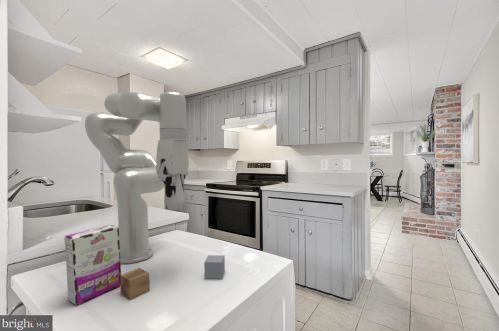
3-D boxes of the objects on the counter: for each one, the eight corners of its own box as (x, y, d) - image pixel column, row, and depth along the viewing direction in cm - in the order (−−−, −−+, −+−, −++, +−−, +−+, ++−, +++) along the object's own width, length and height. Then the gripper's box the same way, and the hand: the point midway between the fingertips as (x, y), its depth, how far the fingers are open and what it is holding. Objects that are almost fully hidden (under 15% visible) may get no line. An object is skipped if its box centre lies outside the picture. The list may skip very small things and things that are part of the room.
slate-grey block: (204, 279, 69) (204, 262, 69) (208, 271, 74) (208, 255, 74) (222, 279, 68) (221, 262, 68) (224, 271, 73) (224, 255, 73)
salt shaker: (178, 211, 68) (177, 165, 67) (160, 210, 69) (159, 165, 68) (188, 207, 73) (187, 164, 73) (171, 206, 74) (170, 164, 74)
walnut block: (121, 294, 62) (120, 274, 62) (139, 285, 66) (139, 267, 66) (130, 300, 59) (130, 280, 59) (149, 291, 63) (149, 272, 63)
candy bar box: (112, 281, 69) (110, 224, 68) (122, 285, 66) (120, 226, 66) (66, 301, 59) (63, 234, 59) (75, 307, 57) (73, 238, 56)
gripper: (178, 138, 79) (179, 194, 80) (142, 134, 64) (144, 202, 64) (198, 137, 77) (199, 194, 78) (166, 132, 62) (168, 204, 62)
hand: (174, 197), depth 71 cm, fingers closed on salt shaker, 3 cm apart
